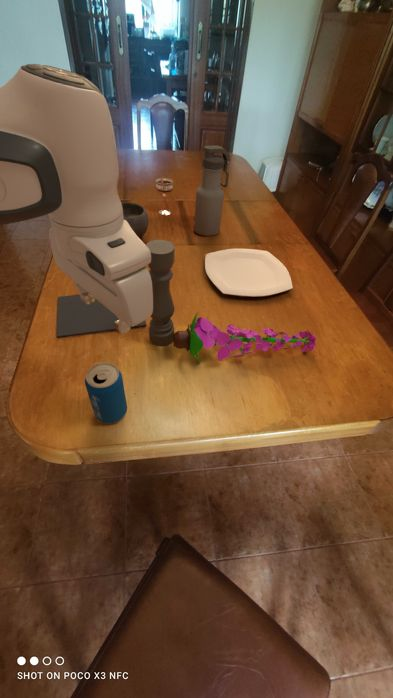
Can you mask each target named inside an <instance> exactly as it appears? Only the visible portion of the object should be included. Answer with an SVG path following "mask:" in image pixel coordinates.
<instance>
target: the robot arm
mask: <svg viewBox="0 0 393 698" xmlns="http://www.w3.org/2000/svg"><path fill="white" fill-rule="evenodd" d="M118 158H119V157H118V150H117V142H116V136H115V130H114V124H113V119H112V115H111V111H110V108H109V105H108V101H107V99H106V97H105V96H104V94H103V93H102V92H101V90H100V88H98V86H96V84H94V83H93V82H92V81H90V80H89V79H88V78H87V77H85V76H83V75H80V74H78V73H76V72H73V71H71V70H66V69H64V68H59V67H55V66H52V65H46V64H39V63H28V64H27V63H26V64H25V65H21V66H19V68H18V70H17V71H16V73H15V74H14V75H13V76H12V78H10V79H9V80H8V81H7V82H6V83H5V84H3V85H2V86H0V226H2V225H4V226H5V225H10V224H16V223H19V222H20V223H21V222H25V221H28V220H33V219H37V218H40V217H43V216H47V215H48V219H49V222H50V228H49V229H48V235H49V236H48V237H49V243H50V247H51V252H52V255H53V256H52V257H53V261H54V263H55V265H56V267H57V268H58V269H59V270H60V271H61V272H62V273H63V274H65V275H66V276H67V277H68V278H70V279H71V280H72V282H73V284H74V286H75V288H76V290H77V291H78V293H79V295H80V296H81V300H82V301H83V302H85V303H86V304H87V305H89V304H90V303H93V302H94V301H95V299H97V300H98V301H99V302H100V303H102V304H103V305H104V306H105V307H106V308H108V309H109V310H110V311H111V312H113V313H114V314H115V315H116V316H117V318H118V319H119V320H117V321H115V322H114V323H115V326H116V327H115V328H116V329H117V330H116V331H118V332H119V334H121V335H124V334H127V333H128V332H130V331H131V328H130V327H133V326H135V325H137V324H140V323H142V322H143V321H145V320H146V321H147V320H149V318H151V315H152V313H153V290H152V280H151V276H150V273H149V269H148V268H147V266H148V264H150V263H151V252H150V250H149V248H148V247H147V246H146V244H145V243H144V241H143V240H142V239H141V238H139V237H138V236H137V235H136V234H135V233H134V231H133V230H132V228H131V227H130V225H129V224H128V222H127V221H126V220H124V216H123V208H122V204H121V202H122V201H121V199H120V196H119V192H118V191H119V190H118V184H119V179H120V167H119V166H120V165H119V159H118Z"/></svg>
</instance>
